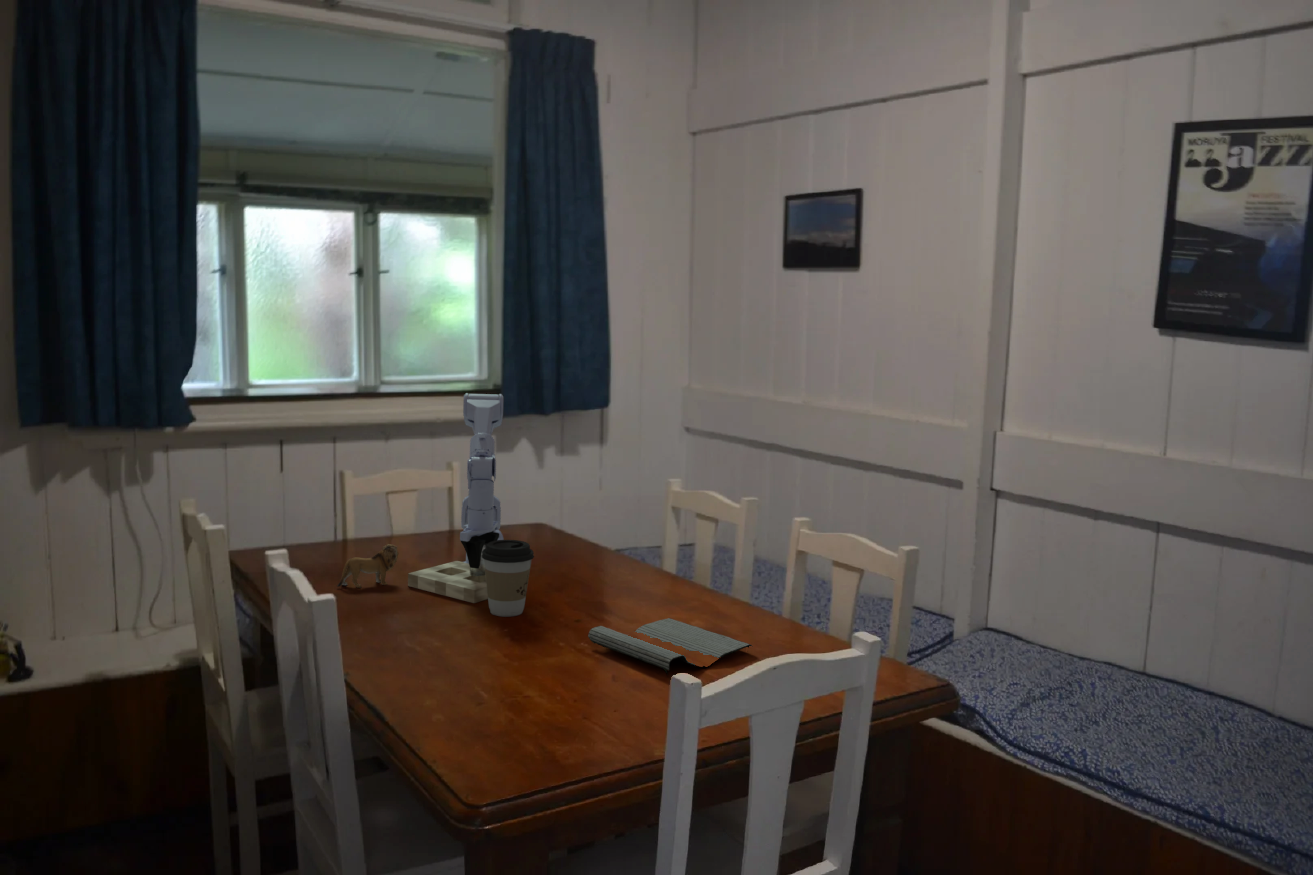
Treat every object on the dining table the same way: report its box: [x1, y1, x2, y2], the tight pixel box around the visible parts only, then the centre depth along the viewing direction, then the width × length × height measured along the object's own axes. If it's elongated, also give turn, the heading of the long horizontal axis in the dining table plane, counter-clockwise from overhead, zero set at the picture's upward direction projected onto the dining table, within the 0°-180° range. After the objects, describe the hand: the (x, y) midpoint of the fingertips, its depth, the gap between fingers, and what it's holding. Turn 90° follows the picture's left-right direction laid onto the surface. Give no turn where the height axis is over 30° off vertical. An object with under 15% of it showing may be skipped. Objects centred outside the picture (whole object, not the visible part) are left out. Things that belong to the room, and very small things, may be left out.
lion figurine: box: [336, 543, 399, 589], centre depth 235 cm, size 15×5×9 cm, turn 129°
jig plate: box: [407, 560, 488, 604], centre depth 236 cm, size 16×21×3 cm
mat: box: [587, 617, 753, 674], centre depth 198 cm, size 23×24×5 cm
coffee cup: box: [481, 539, 535, 618], centre depth 218 cm, size 11×11×15 cm
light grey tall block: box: [470, 543, 486, 576], centre depth 233 cm, size 4×4×7 cm
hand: (479, 565), depth 233 cm, fingers closed on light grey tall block, 4 cm apart
